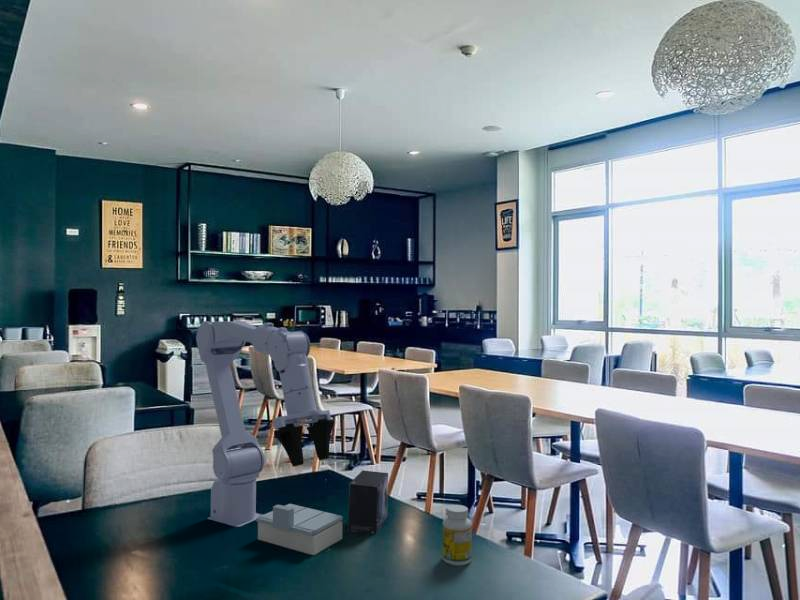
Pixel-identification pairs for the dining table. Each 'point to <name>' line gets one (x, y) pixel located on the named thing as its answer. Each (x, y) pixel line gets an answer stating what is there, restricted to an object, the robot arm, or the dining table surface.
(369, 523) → the small box
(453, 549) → the supplement bottle
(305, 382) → the robot arm
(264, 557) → the dining table surface
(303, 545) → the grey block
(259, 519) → the lid
